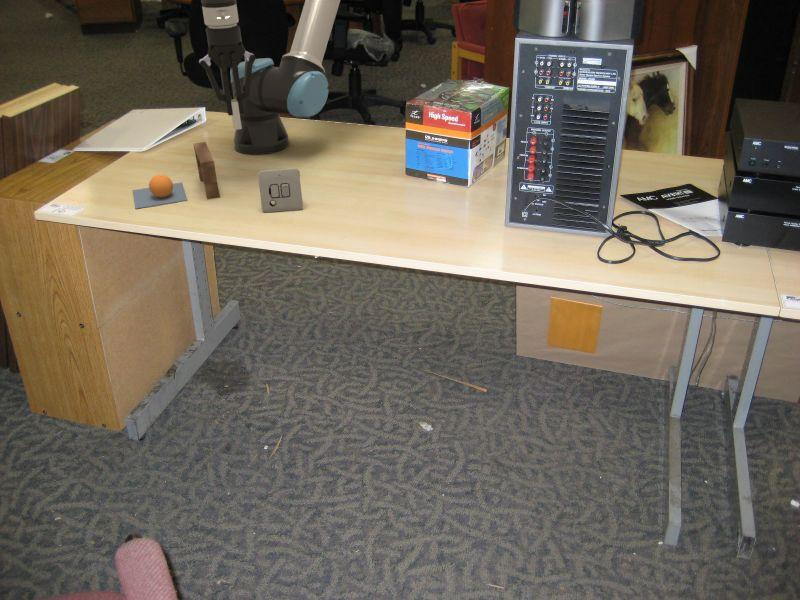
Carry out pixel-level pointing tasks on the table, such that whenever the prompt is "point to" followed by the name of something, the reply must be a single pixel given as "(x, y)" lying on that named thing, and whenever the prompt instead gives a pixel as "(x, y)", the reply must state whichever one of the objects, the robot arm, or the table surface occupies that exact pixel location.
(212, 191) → the brown bridge block
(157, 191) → the ball
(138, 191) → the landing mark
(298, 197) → the electrical switch
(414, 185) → the table surface
